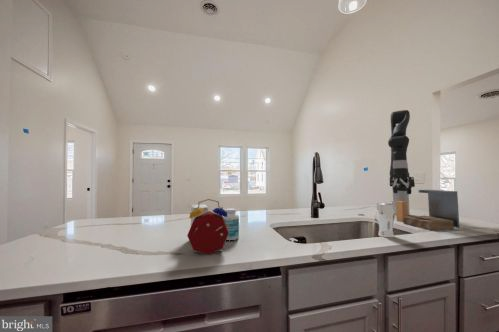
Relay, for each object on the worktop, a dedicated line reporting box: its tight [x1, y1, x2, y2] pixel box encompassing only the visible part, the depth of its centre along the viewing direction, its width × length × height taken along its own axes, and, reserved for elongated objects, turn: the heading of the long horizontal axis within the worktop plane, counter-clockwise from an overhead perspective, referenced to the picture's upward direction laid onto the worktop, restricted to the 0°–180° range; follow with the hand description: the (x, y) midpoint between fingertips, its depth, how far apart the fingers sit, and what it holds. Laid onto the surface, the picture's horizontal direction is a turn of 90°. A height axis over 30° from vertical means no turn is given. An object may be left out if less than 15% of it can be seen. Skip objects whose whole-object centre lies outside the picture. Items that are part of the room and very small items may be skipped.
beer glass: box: [376, 202, 395, 239], centre depth 94 cm, size 7×7×15 cm
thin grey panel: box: [418, 189, 460, 229], centre depth 113 cm, size 14×8×20 cm, turn 12°
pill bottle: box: [223, 207, 240, 242], centre depth 91 cm, size 8×7×14 cm
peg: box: [395, 201, 409, 223], centre depth 123 cm, size 4×4×12 cm
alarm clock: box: [187, 198, 229, 255], centre depth 74 cm, size 15×9×20 cm, turn 98°
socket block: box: [403, 215, 455, 231], centre depth 111 cm, size 14×16×4 cm
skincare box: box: [190, 203, 209, 226], centre depth 88 cm, size 8×7×16 cm
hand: (402, 193), depth 124 cm, fingers open, 8 cm apart
